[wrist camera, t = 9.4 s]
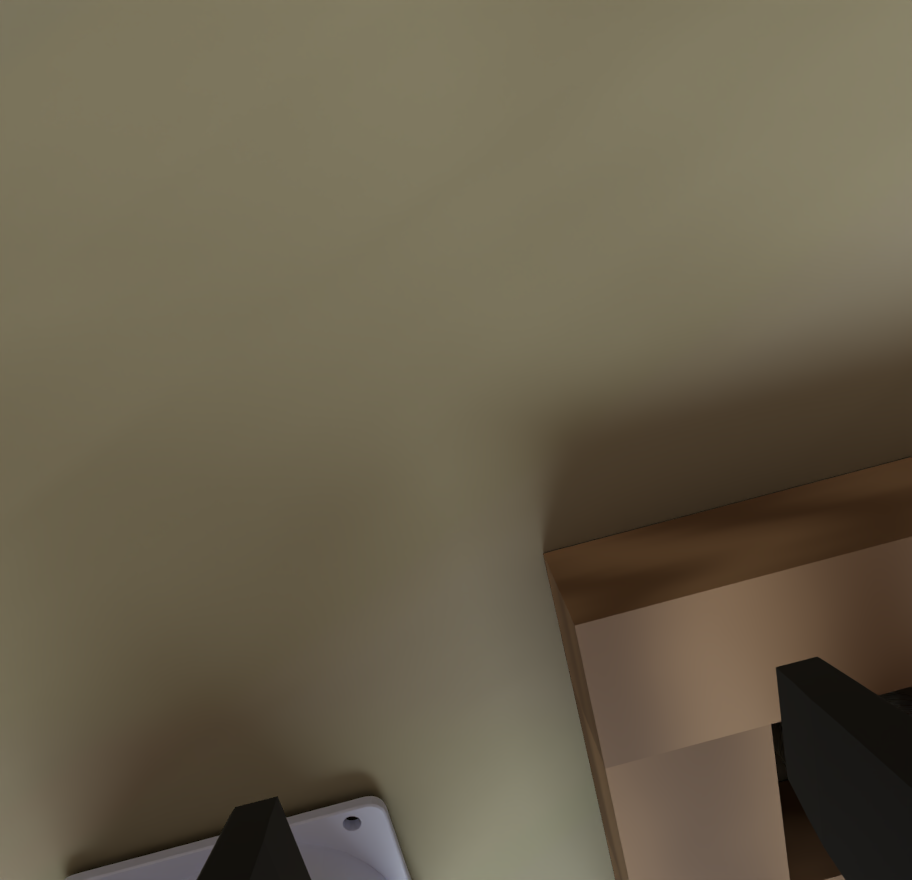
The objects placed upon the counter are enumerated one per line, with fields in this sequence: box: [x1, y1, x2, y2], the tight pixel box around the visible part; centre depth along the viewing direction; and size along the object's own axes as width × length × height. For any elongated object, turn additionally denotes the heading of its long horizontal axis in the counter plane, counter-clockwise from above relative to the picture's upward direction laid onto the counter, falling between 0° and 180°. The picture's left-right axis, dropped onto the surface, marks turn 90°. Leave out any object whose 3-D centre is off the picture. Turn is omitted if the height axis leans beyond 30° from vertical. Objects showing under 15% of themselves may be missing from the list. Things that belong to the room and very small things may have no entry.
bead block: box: [543, 457, 912, 880], centre depth 24 cm, size 14×14×4 cm
